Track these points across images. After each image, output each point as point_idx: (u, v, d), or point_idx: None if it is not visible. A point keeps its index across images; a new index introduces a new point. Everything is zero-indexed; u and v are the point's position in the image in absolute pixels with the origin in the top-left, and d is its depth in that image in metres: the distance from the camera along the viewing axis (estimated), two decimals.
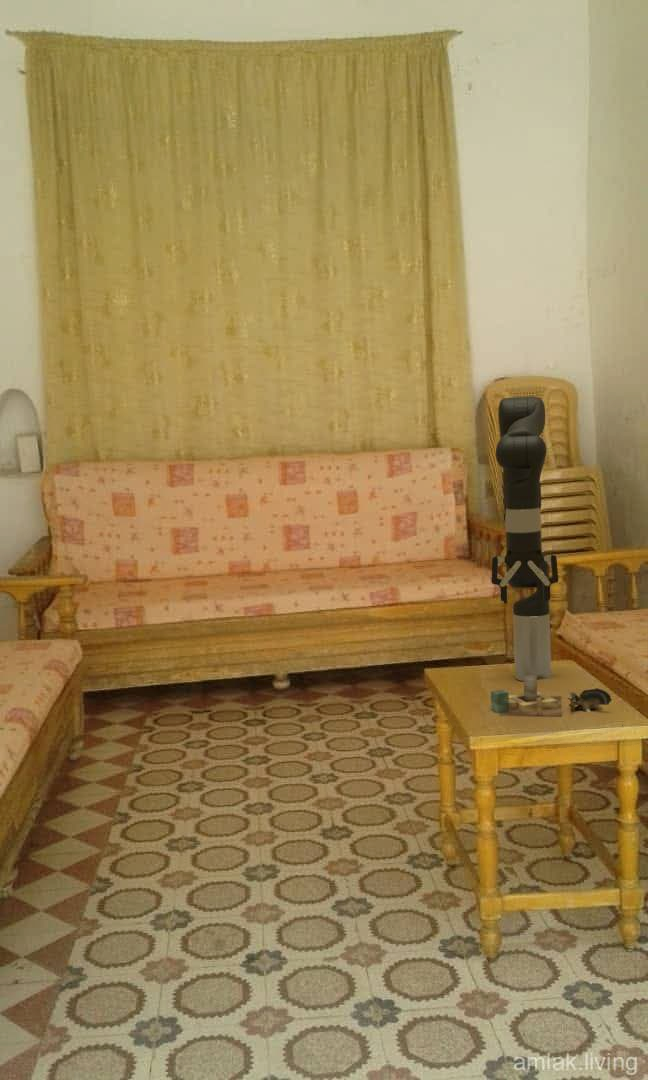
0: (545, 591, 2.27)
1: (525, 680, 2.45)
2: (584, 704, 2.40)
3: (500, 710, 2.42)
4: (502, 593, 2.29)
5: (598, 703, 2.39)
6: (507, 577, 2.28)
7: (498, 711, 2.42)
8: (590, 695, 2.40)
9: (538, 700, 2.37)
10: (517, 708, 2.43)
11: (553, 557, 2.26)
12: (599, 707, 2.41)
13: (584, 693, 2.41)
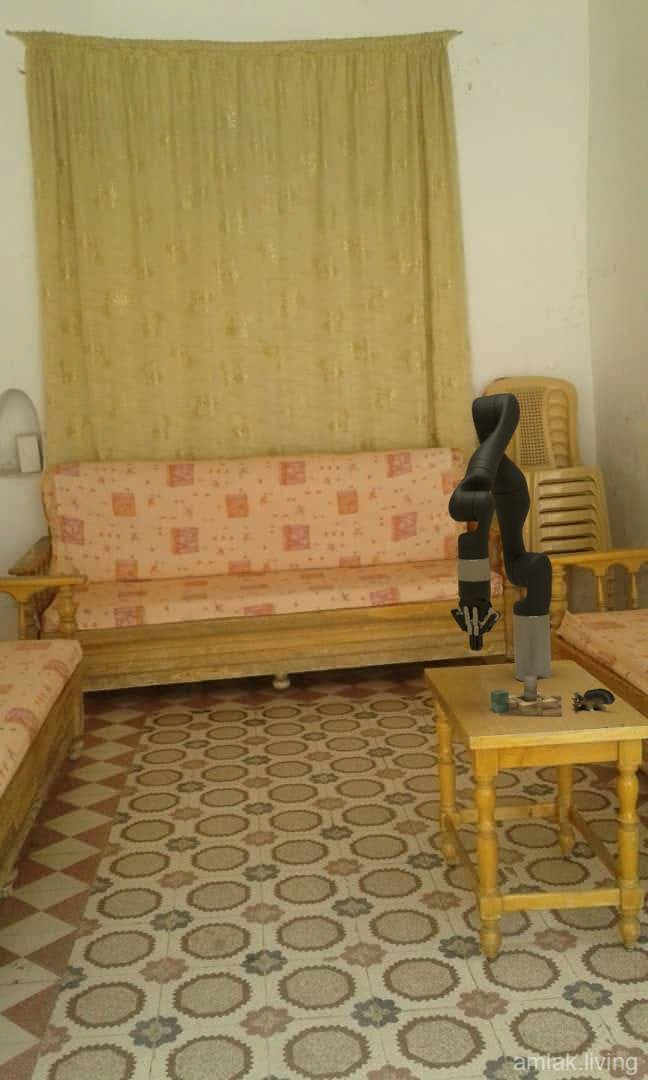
0: None
1: (525, 680, 2.45)
2: (587, 704, 2.40)
3: (500, 710, 2.42)
4: None
5: (602, 703, 2.39)
6: None
7: (498, 711, 2.42)
8: (594, 695, 2.40)
9: (538, 700, 2.37)
10: (517, 708, 2.43)
11: None
12: (603, 707, 2.41)
13: (587, 693, 2.41)
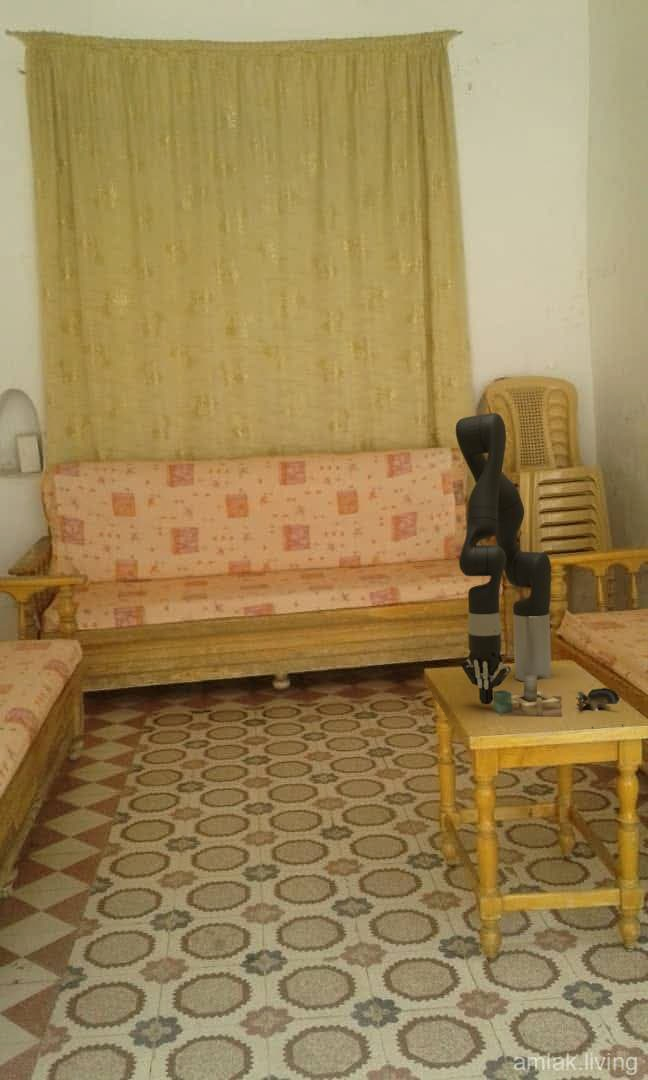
0: None
1: (525, 680, 2.45)
2: (592, 704, 2.40)
3: (503, 710, 2.42)
4: None
5: (606, 702, 2.39)
6: None
7: (501, 712, 2.41)
8: (598, 694, 2.40)
9: (538, 700, 2.37)
10: (520, 708, 2.43)
11: None
12: (607, 706, 2.41)
13: (592, 692, 2.41)
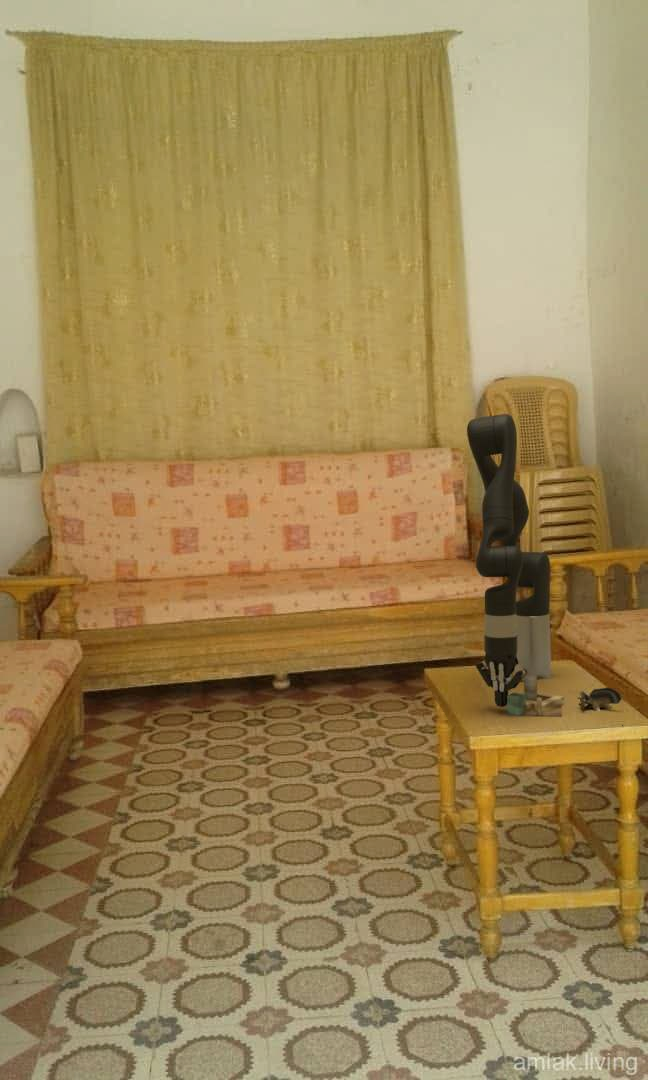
0: None
1: (525, 680, 2.45)
2: (593, 704, 2.40)
3: (520, 713, 2.39)
4: None
5: (608, 702, 2.39)
6: None
7: (519, 714, 2.39)
8: (600, 694, 2.41)
9: (538, 700, 2.37)
10: (532, 709, 2.42)
11: None
12: (609, 706, 2.41)
13: (594, 692, 2.41)
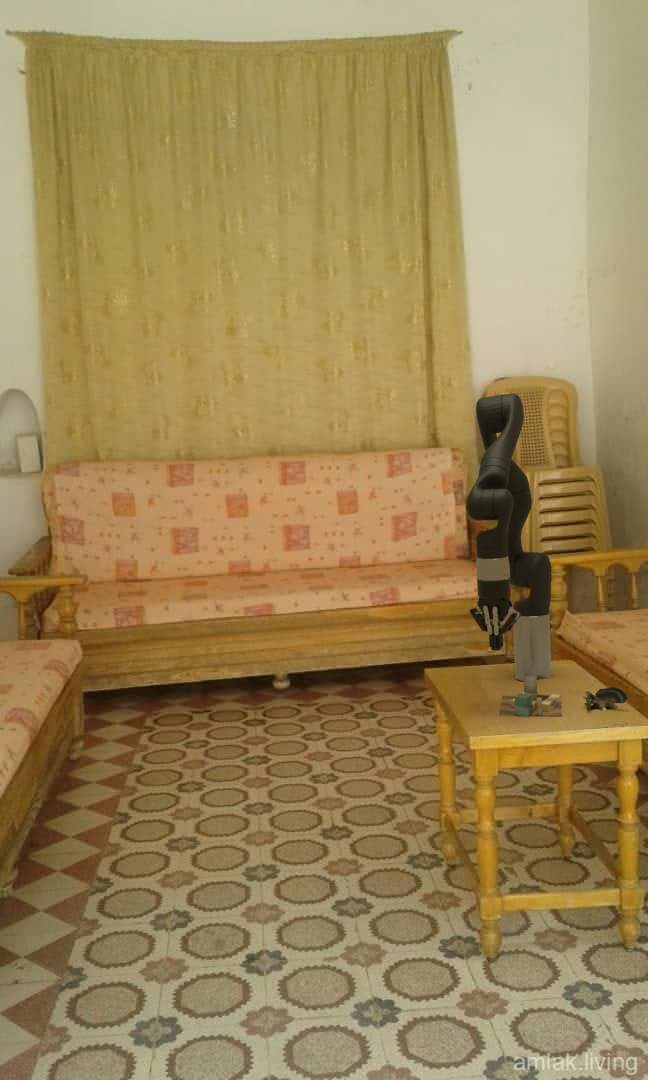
0: None
1: (525, 680, 2.45)
2: (599, 703, 2.40)
3: (529, 713, 2.38)
4: None
5: (614, 702, 2.39)
6: None
7: (528, 715, 2.38)
8: (606, 694, 2.41)
9: (538, 700, 2.37)
10: None
11: None
12: (615, 706, 2.41)
13: (600, 692, 2.41)
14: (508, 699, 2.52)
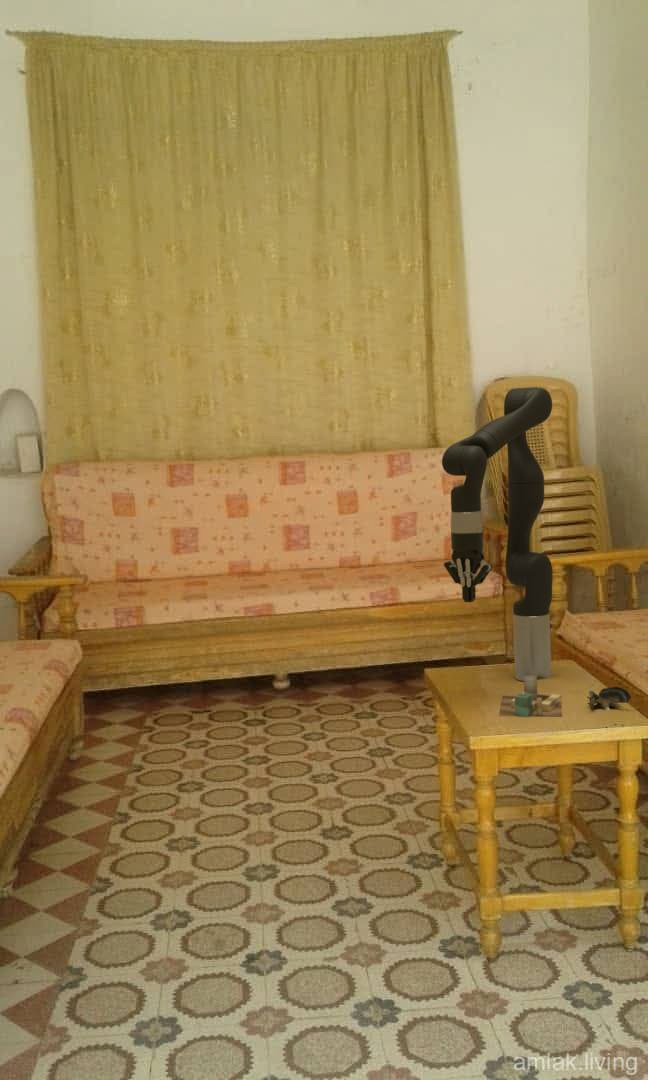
0: None
1: (525, 680, 2.45)
2: (603, 703, 2.40)
3: (529, 713, 2.38)
4: None
5: (617, 701, 2.39)
6: None
7: (528, 715, 2.38)
8: (609, 693, 2.41)
9: (538, 700, 2.37)
10: None
11: None
12: (618, 705, 2.41)
13: (603, 691, 2.41)
14: (508, 699, 2.52)
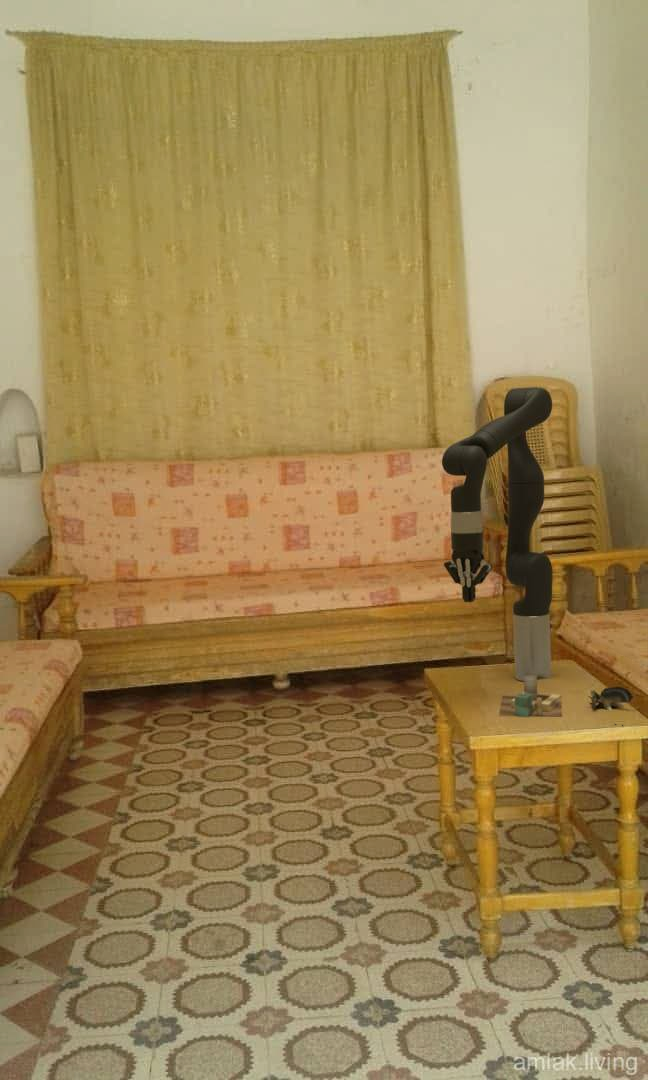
0: None
1: (525, 680, 2.45)
2: (605, 702, 2.40)
3: (529, 713, 2.38)
4: None
5: (619, 701, 2.39)
6: None
7: (528, 715, 2.38)
8: (611, 693, 2.41)
9: (538, 700, 2.37)
10: None
11: None
12: (620, 705, 2.41)
13: (605, 691, 2.41)
14: (508, 699, 2.52)
